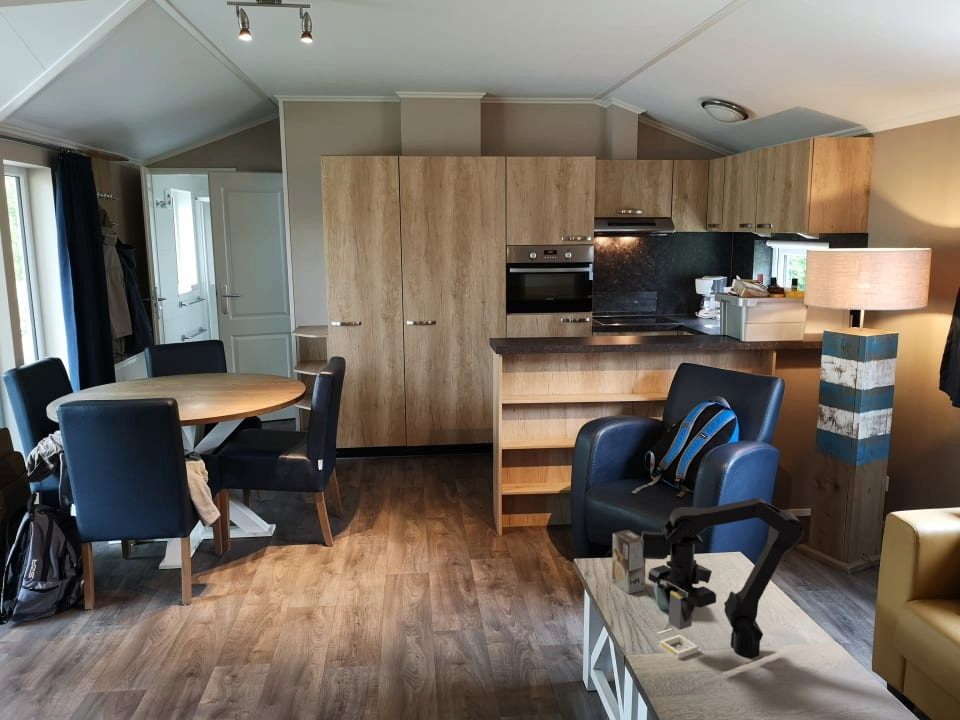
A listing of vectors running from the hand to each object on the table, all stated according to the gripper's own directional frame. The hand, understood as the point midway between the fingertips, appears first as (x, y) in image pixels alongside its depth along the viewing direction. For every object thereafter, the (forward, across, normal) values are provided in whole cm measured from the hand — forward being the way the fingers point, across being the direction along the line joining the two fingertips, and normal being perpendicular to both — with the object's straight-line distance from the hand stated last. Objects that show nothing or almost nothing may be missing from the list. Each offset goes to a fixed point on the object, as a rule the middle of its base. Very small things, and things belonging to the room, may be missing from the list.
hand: (680, 617), depth 194 cm
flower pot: (+10, +19, -14) cm, 26 cm away
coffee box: (+10, +36, -13) cm, 40 cm away
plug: (+2, 0, 0) cm, 2 cm away
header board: (+10, +3, -1) cm, 10 cm away
